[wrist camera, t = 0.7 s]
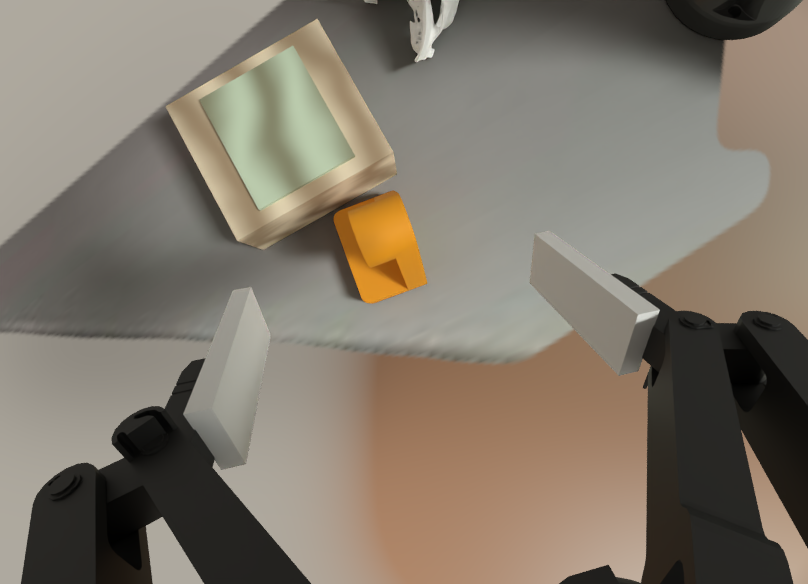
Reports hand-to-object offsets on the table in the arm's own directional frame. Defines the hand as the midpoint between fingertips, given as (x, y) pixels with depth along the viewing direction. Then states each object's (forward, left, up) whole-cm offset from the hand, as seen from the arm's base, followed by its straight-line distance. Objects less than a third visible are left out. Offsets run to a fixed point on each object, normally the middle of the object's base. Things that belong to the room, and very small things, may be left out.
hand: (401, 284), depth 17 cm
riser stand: (+4, -21, -24) cm, 33 cm away
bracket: (+1, -6, -25) cm, 25 cm away
